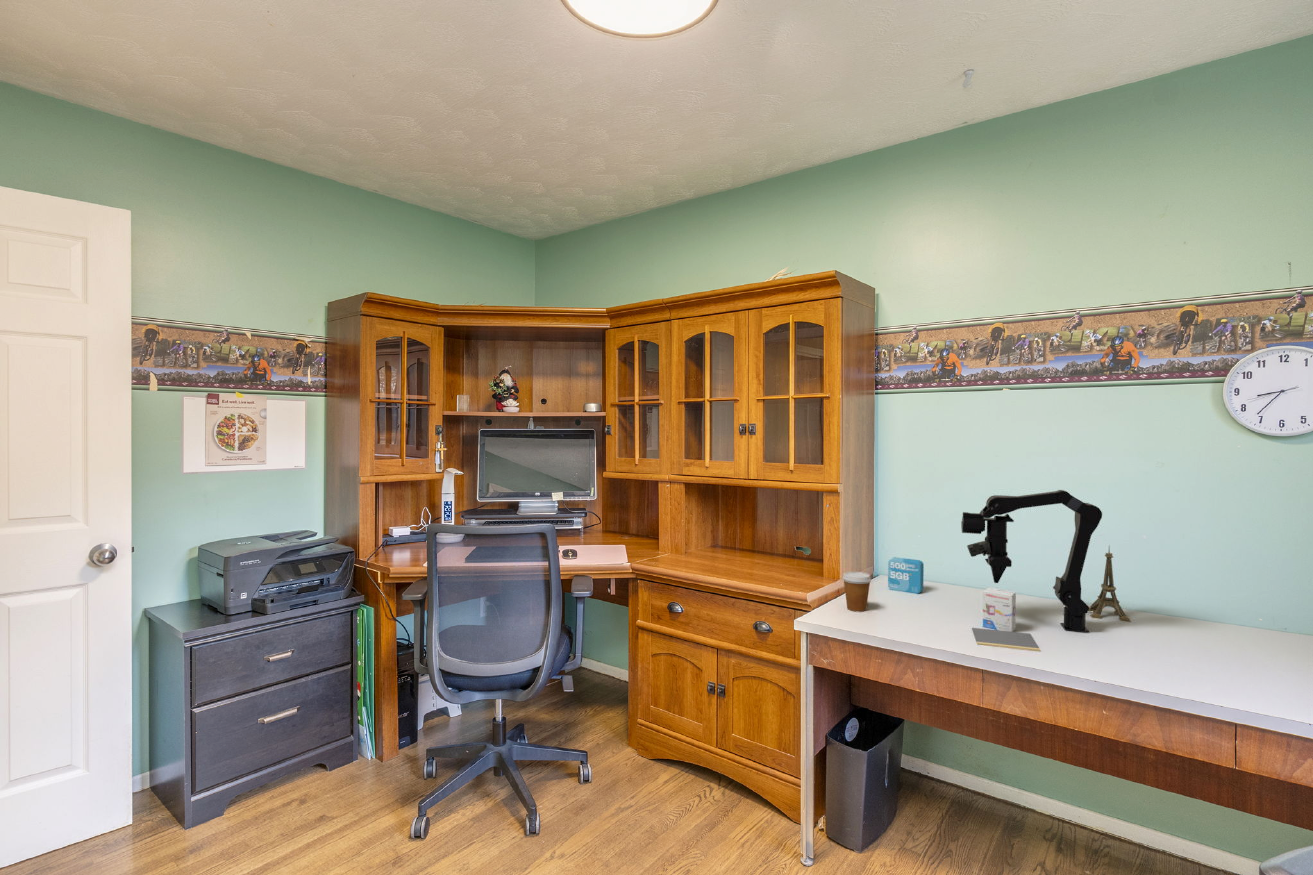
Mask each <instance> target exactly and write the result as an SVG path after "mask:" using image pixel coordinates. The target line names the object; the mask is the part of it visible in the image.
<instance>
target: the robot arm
mask: <svg viewBox="0 0 1313 875" xmlns="http://www.w3.org/2000/svg"><path fill="white" fill-rule="evenodd" d="M985 503H986V504H985V506H984V507H983V508H982V509H981V510H980V512H979V513H975V512H966V511H965V512H964V511H963V512H962V518H961V523H960V524H961V533H962V534H976V535H980V534H982V532H985V531H986V536H985V537H984V540H983V541H977V542H975V543H974V542H973V543H970V544H968V545H966V547H967V551H968V553H969V555H970V557H976V556H979V555H982V556H983V557H985V556H986V555H987V558H984V560H985V561H986V563H987V565H988V566H990V571H991V574H992V578H993V582H994V583H995V584H999V582H1000V580H1001V578H1002V576H1003V574H1004V572H1005V571H1006V569H1007V568H1011V567H1012V559H1010V557H1009V556H1008V551H1007V550H1008V549H1007V548H1008V546H1007V544H1008V543H1009V542H1008V536H1007V535H1008V532H1007V531H1008V530H1007V528H1008V527H1007V526H1008V525H1007V524H1008V522H1009V523H1014V522H1015V521H1014V519H1013V518H1012V517H1011V516H1010V514H1009V513H1012V512H1014V511H1017V510H1020V509H1026V508H1027V509H1028V508H1034V507H1035V508H1036V507H1041V506H1044V507H1045V506H1050V505H1059V504H1062V505H1063V506H1065V507H1067V508H1068V509H1070V510H1071V511H1073V512H1074V528H1075V530H1074V535H1073V538H1072V542H1071V547H1070V551H1069V554H1068V558H1067V562H1066V566H1065V570H1064V572H1063V574H1062V576H1061V577H1060V576H1057V575H1056V576H1055V584H1054V586H1052V589H1053V590H1054V595H1055V596H1056V597H1057V599H1058V601H1060V603H1062V605H1063V606H1064V607H1063V622H1060V623H1059V624H1060V626H1061V627H1062V629H1063V630H1065V631H1070V632H1081V633H1090V630H1089V629H1088V628H1087V626H1086V624H1087V622H1086V621H1087V620H1086V617H1087V616H1086V614H1088V613H1089V612H1088V610H1089V608H1090V606H1089V605H1088V604H1087V603H1086V602H1085V601H1084V600H1083V599H1082V584H1081V577H1082V572H1083V569H1084V565H1085V562H1086V557H1087V553H1088V549H1089V546H1090V542H1091V538H1092V535H1093V533H1094V532H1095V530H1096V529H1097V527H1099V525H1100V522H1101V521H1102V518H1103V511H1102V510H1101V508H1099V507H1098V506H1096V505H1095V504H1093V503H1089V502H1084V501H1082V500H1080V499H1078V498H1077V497H1075V496H1073V495H1072V494H1070V493H1069V492H1068V491H1066V490H1064V489H1057V490H1054V491H1047V492H1039V493H1033V494H1032V493H1031V494H1024V495H1001V494H1000V495H997V494H996V495H995V494H994V495H991V496H989V497H988V498H987V499H986V502H985Z"/></svg>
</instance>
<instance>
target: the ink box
mask: <svg viewBox="0 0 1313 875" xmlns="http://www.w3.org/2000/svg"><path fill="white" fill-rule="evenodd" d="M1016 595H1017V594H1016V592H1015V591H1011V590H1006V589H998V588H994V587H986V588H984V589H983V591H982V628H984V629H990V630H1000V631H1010V632H1015V630H1016V621H1017V620H1016V615H1017V614H1016V611H1017V610H1016V605H1017V604H1016V603H1017V597H1016Z"/></svg>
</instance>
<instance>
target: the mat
mask: <svg viewBox="0 0 1313 875" xmlns="http://www.w3.org/2000/svg"><path fill="white" fill-rule="evenodd" d="M971 629H972V633H973V636H974V639H975V642H976V644H977V645H978V646H989V647H996V648H997V647H998V648H1005V649H1013V650H1025V651H1033V652H1041V648H1040V646H1039V645H1038V643H1037V642H1036V641H1035V638H1034V637H1033V636H1032V634H1031V633H1028V632H1021V631H1020V632H1019V631H1018V632H1017V631H1013V632H1010V631H1000V630H995V629H990V628H980V627H979V628H978V627H971Z"/></svg>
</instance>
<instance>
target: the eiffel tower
mask: <svg viewBox="0 0 1313 875" xmlns="http://www.w3.org/2000/svg"><path fill="white" fill-rule="evenodd" d="M1110 548H1111V547H1110V546H1108V552H1105V555H1104V557H1105V558H1106V560H1105V568H1104V576H1103V583H1101V584H1100V587H1101V591H1100V593H1099V595H1097V599H1096V600H1094V601H1093V602H1092V604H1091V605H1090V606H1089V610H1088V611H1093V612H1092V614H1090V617H1091V618H1092V619H1098V620H1099V619H1100V620H1102V619H1103V617H1102V612H1103V609H1104V608H1106V607H1108V608H1109V607H1110V608H1112V609H1114V610H1113V613H1114V615H1117V616H1118V620H1119V621H1120V622H1126V623H1127V622H1128V623H1131V622H1132V621H1131V619H1130V618H1128V616H1127V614H1126V613H1125V611H1124V609H1123V608H1122V606H1121V605H1120V601H1119V600H1118V598H1117V595H1116V590H1117V588H1116V586H1114V572H1113V562H1112V558H1114V556H1113V553H1111V552H1110V551H1111V550H1110ZM1107 593H1110V596H1111V597H1107Z"/></svg>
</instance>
